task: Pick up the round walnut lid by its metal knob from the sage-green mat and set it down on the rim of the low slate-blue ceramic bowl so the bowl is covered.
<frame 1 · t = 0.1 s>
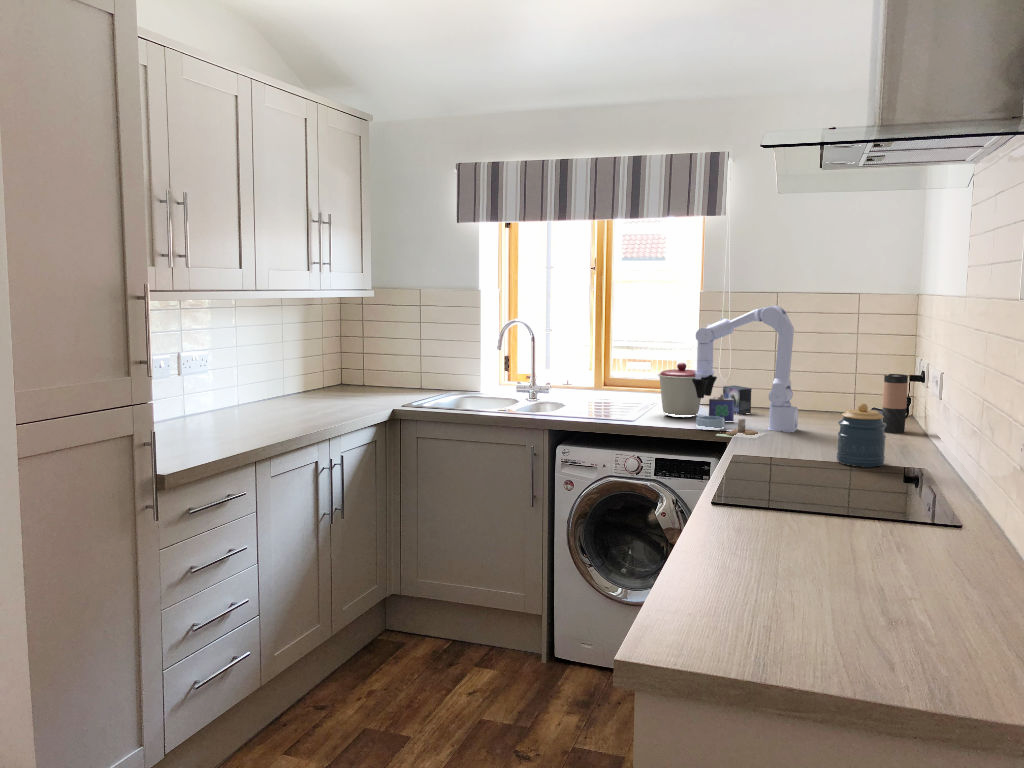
hand: (704, 396, 319), 10 cm above the worktop, tool pointing down, fingers open, 7 cm apart
canister 2: (860, 464, 251), on the worktop
bowl: (710, 429, 309), on the worktop
canister: (680, 417, 337), on the worktop
small box: (736, 413, 346), on the worktop
mat: (741, 434, 297), on the worktop
travel mug: (893, 432, 303), on the worktop
lid: (741, 434, 297), resting on mat
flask: (721, 423, 323), on the worktop
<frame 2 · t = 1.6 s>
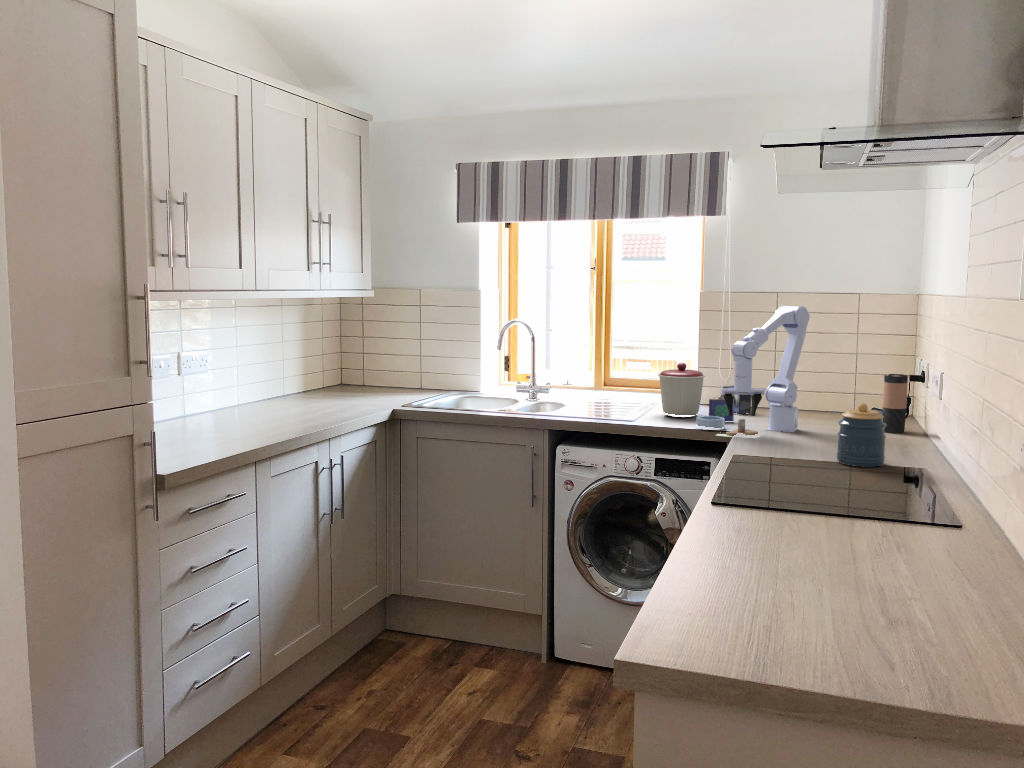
hand: (741, 415, 296), 7 cm above the worktop, tool pointing down, fingers open, 7 cm apart
nothing on the worktop moved.
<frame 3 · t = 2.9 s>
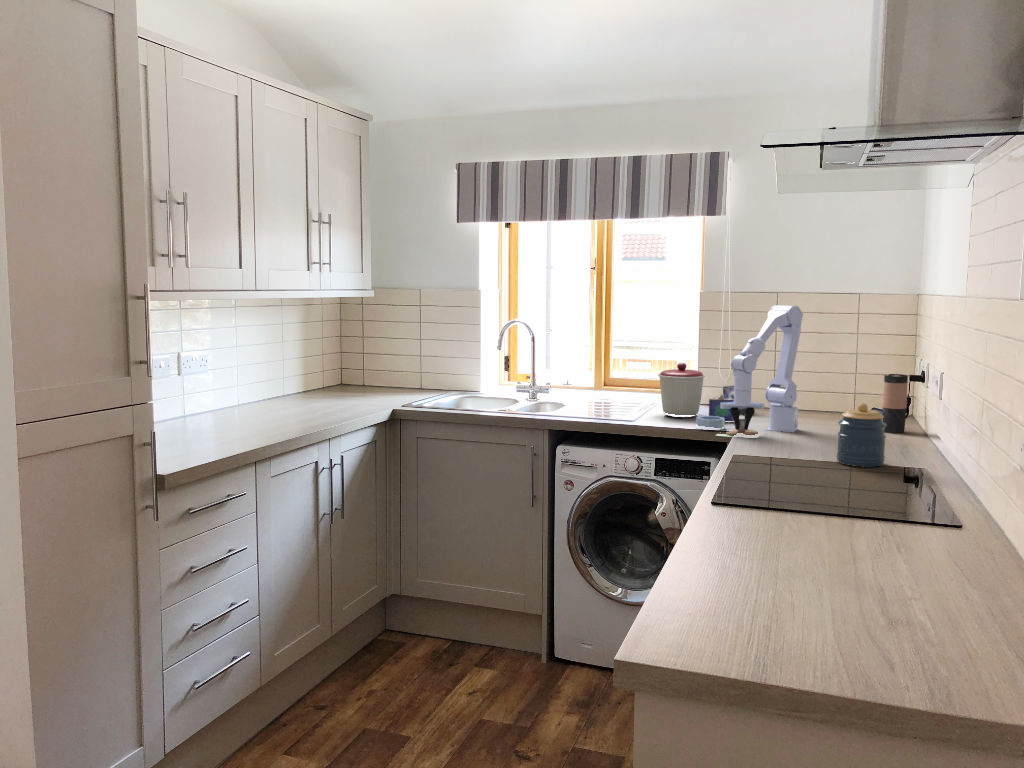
hand: (741, 429, 297), 2 cm above the worktop, tool pointing down, fingers closed on lid, 2 cm apart
lid: (741, 434, 297), resting on mat, touching gripper
everything else where it was.
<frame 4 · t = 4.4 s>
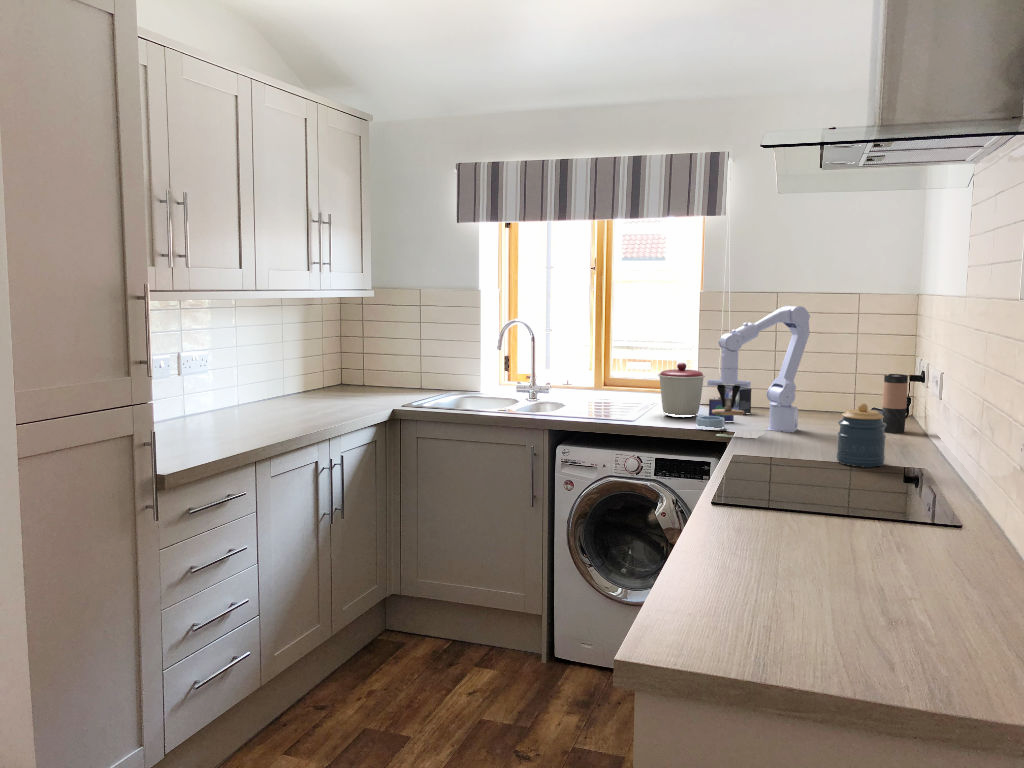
hand: (728, 407, 301), 9 cm above the worktop, tool pointing down, fingers closed on lid, 2 cm apart
lid: (728, 413, 301), point 7 cm above the worktop, touching gripper
everything else where it was.
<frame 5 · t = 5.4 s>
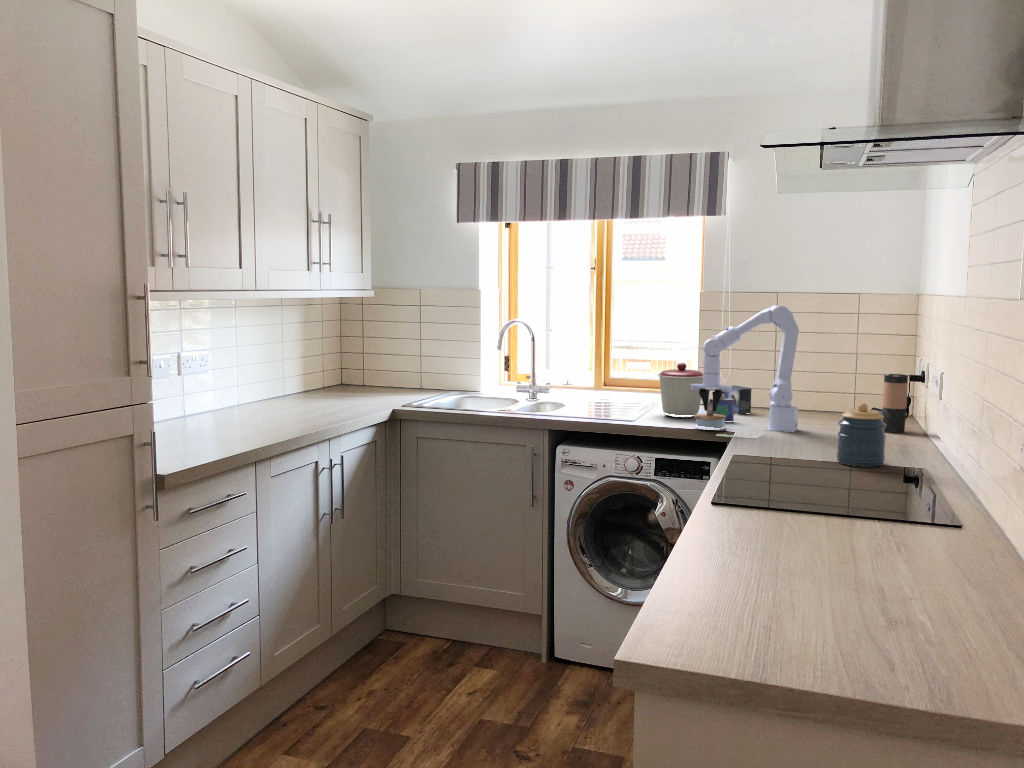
hand: (710, 410, 308), 7 cm above the worktop, tool pointing down, fingers closed on lid, 2 cm apart
lid: (709, 417, 308), point 4 cm above the worktop, touching bowl, gripper
everything else where it was.
when the fingers open (7 cm above the worktop, at t = 5.9 s): lid stays where it is, resting on bowl.
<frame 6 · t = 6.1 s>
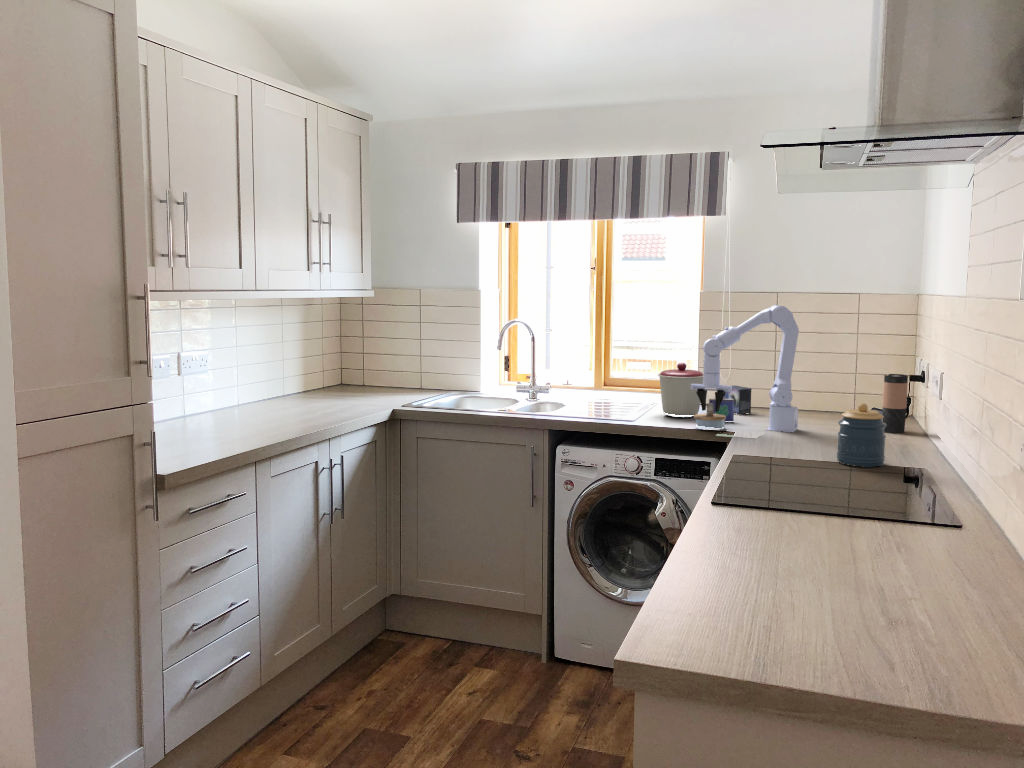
hand: (710, 410, 308), 7 cm above the worktop, tool pointing down, fingers open, 4 cm apart
lid: (709, 418, 308), point 4 cm above the worktop, touching bowl
everything else where it was.
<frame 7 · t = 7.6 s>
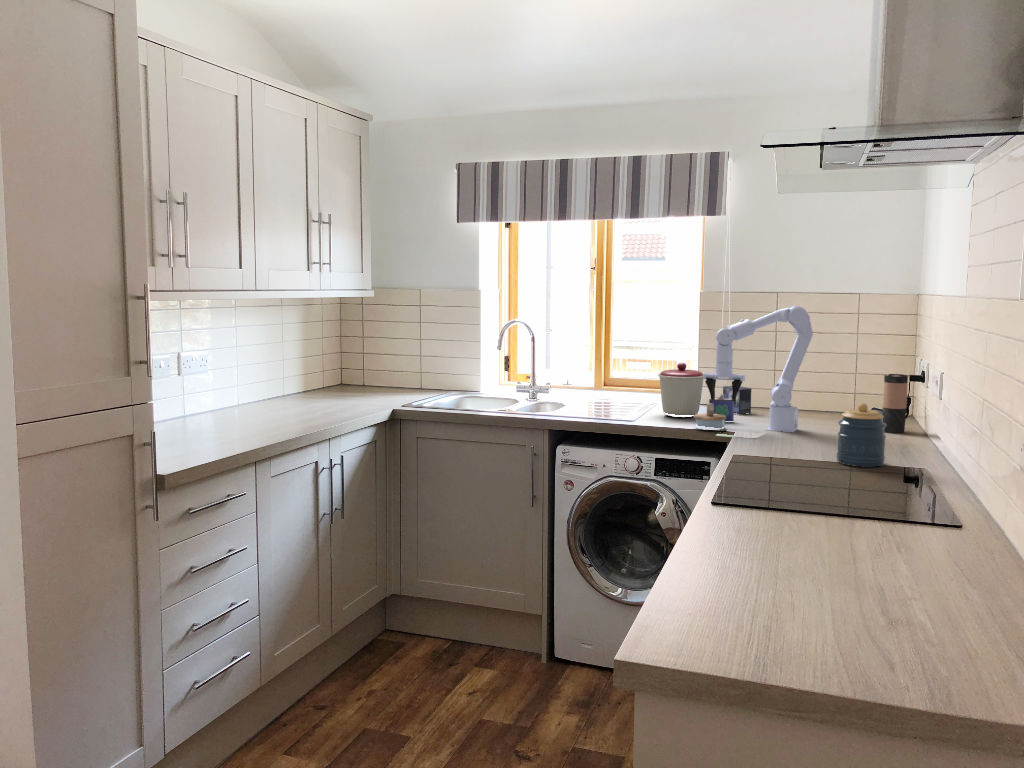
hand: (723, 400, 309), 10 cm above the worktop, tool pointing down, fingers open, 7 cm apart
nothing on the worktop moved.
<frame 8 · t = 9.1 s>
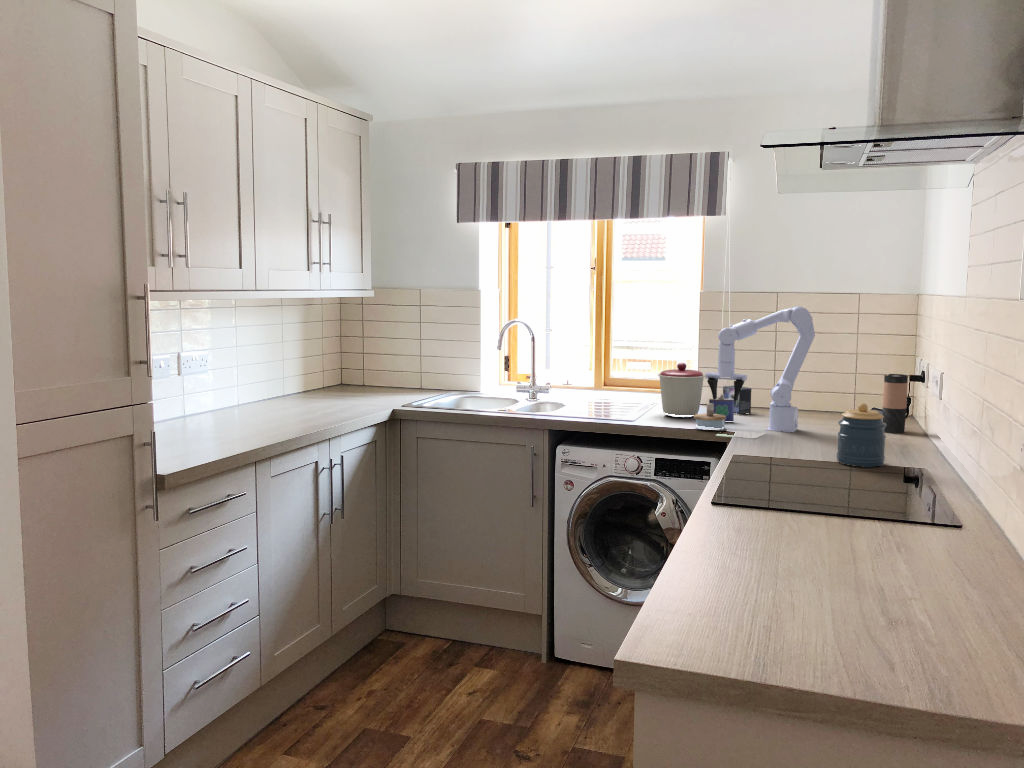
hand: (725, 399, 309), 10 cm above the worktop, tool pointing down, fingers open, 7 cm apart
nothing on the worktop moved.
at the end: lid 0.5 cm off-centre on the bowl, point 4.0 cm above the bowl's base; lid tilted 0°; the gripper is holding nothing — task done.
